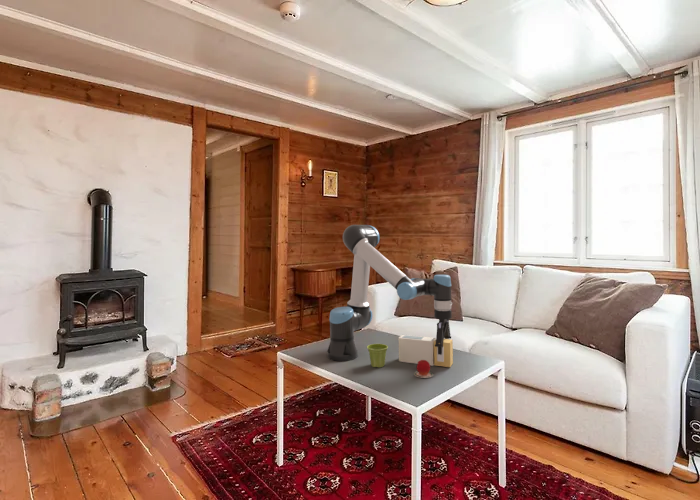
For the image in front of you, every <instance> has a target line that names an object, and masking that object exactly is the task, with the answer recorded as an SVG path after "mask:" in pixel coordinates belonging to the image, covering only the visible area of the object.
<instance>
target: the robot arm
mask: <svg viewBox="0 0 700 500" xmlns="http://www.w3.org/2000/svg"><path fill="white" fill-rule="evenodd" d="M342 242H343V244H344V246H345V248H347V249H348V250H349V251H350V252H351V253H352V254H353V265H352V266H353V267H352V276H351V277H352V280H351V291H350V299H349V300H348V301H347V303H346V304H347V305H346V306H339V307H334V308H333V309H331V310H330V313H329V319H328V320H329V333H330V334H329V339H330V340H329V343H328V348H327V351H326V357H327V359H329V360H331V359H332V361H337V362H342V361H344V362H345V361H352V360H354V359H357V357H358V355H359V352H358V348H357V345H356V343H355V337H354V336H355V332H356V331H358V330H360V329H364V328H366V327H367V326H369V325H370V323H372V320H373V311H372V309H371V307H370V302H368V293H369V284H370V283H369V281H370V272H371V271H370V270H371V268H372V269H373V270H375V273H377V274H379V275H380V277H382V278H383V279H384V280H385V281H386V282H387V283H388V284H389V285H391V286H392V288H394V289H395V290H396V293H397V296H398V297H399V298H400V300H404V301H408V300H413V299H415V298H418V297H421V296H433V308H434V311H433V312H434V316H433V317H434V318H435V319H437V320H438V322H437V323H436V337H435V338H436V345H435V346H436V347H437V361H440V362H444V347H443V341H444V339H451V340H452V336H451V328H450V319H452V317H453V316H452V314H453V313H452V305H453V302H452V280H451V276H450V275H449V274H435V275H434V276H433V278H420V277H419V278H418V277H412V278H409V276H407V275H406V274H405V273H404V272H403V271H401V270H400V269H399V268H398V267H397V266H396V265H394V263H392V262H391V261H390V260H389V259H388V258H387V257H386V256H384V255H383V254H382V253H381V252H380V251H379V250H378V249H376V248H375V247H377V245H378V244H379V243H380V233H379V231H378V229H377V228H376V227H375V226H372V225H369V224H351V225H349V226H347V227H345V230H344V231H343V233H342ZM439 343H440V344H439Z"/></svg>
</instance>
